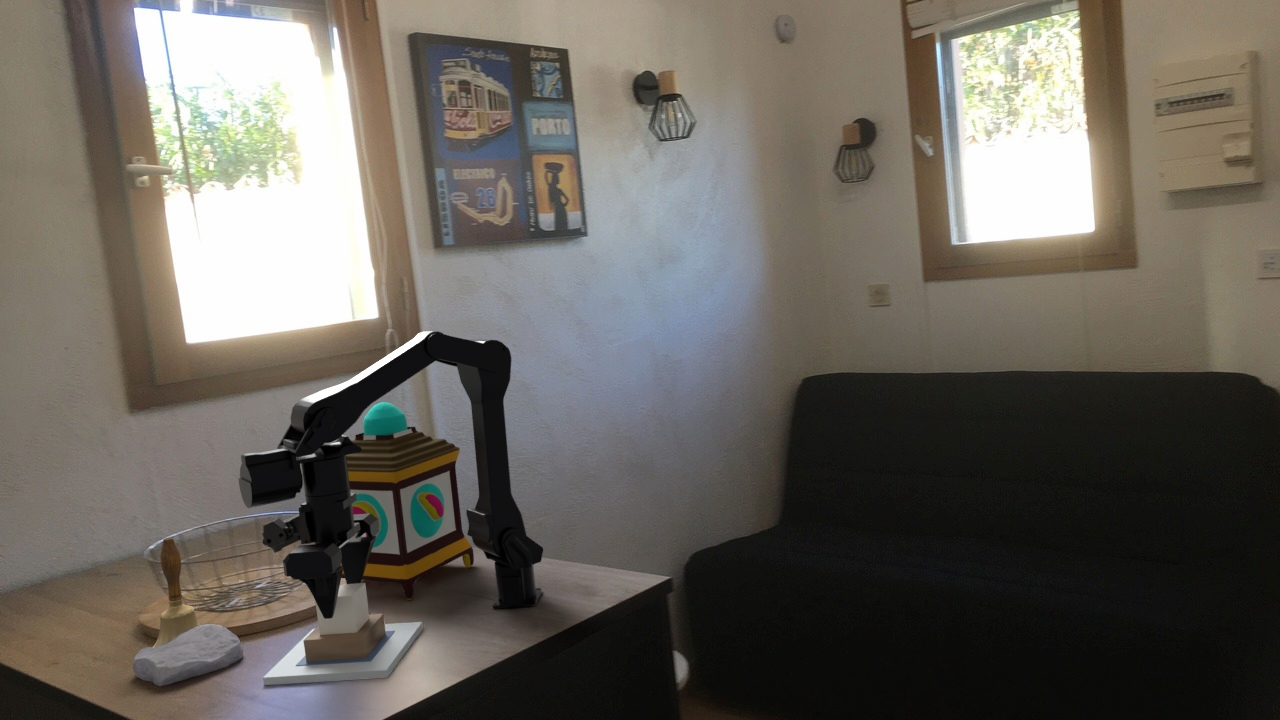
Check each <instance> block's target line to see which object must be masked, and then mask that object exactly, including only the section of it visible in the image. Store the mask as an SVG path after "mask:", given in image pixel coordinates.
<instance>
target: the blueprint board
mask: <svg viewBox="0 0 1280 720" xmlns="http://www.w3.org/2000/svg"><path fill="white" fill-rule="evenodd" d="M423 625H424V624H423V621H414V622H398V623H396V622H395V623H385V617H384V613H375V614H374V613H372V614H369V619H368V621H367V622H366V623H365V624H364V625H363V626H362V627H361V628H360V630H359V631H358V632H357V633H342V634H327V635H320V633H319V625H317V626H316V627H315V628H311V630H310V631H309V632H308V633H307V634H306V635H305V636H304V637H303V638H302V639H301V640H299V642H298V643H297V644H295V646H294V647H292V649H290V650H289V651H288V652H287V653H286V655H285V656H283V657H282V658H281V659H280V660H279V661H278V662H277V663H276V664H275V665H274V666H273V667H272V668H271V669H270V670H269V671H268V672H267V673H266V674H265V675H264V676H263V677H262V679H263V681H262V682H263V685H264V686H272V685H273V686H274V685H287V684H289V685H290V684H304V683H305V684H307V683H320V682H322V683H323V682H337V681H338V682H339V681H354V680H367V679H368V680H370V679H387V678H389V676H390V675H391V674H392V672H393V671H394V669H395V668H396V667H397V665H398V664H399V663H400V661H401V659H402V658H403V657H404V656H405V654H406V652H407V651H408V650H409V648H410V647H411V646H412V645H413V643H414V642H415V640H417V637H419V635H420V634H421V632H422V631H423V629H424V627H423Z"/></svg>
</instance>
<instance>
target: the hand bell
mask: <svg viewBox="0 0 1280 720" xmlns="http://www.w3.org/2000/svg"><path fill="white" fill-rule="evenodd" d="M160 551H161V552H160V557H159V559H160V566H161V571H162V572H163V575H164V578H165V580H166V583H167V590H168V604H169V605H168V606H169V607H167V608H166V609H165V610H164V611H162V612H161V613H160V616H159V618H160V619H159V623H160V624H159V627H160V628H159V633H158V637H157V640H156V641H155V644H154V645H153V646H151V648H154V647H158V646H160V645H165V644H168V643H169V642H171V641H172V640H174V639H175V638H176V637H177V636H179V635H180V634H183V633H185V632H187V631H189V630H191V629H193V628H195V627H197V626H201V624H200V622H199V619H198V617H197V614H196V611H195V608H194V607H193V606H192V605H188V604H185V603H184V602H183V599H182V598H183V595H182V590H181V589H182V588H181V585H180V579H181V578H180V576H181V572H182V559H181V558H182V557H181V553H180V550H179V548H178V546H177V544H176V542H175V540H174V538H173V537H165V538H163V540H162V546H161V550H160Z"/></svg>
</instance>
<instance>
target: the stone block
mask: <svg viewBox="0 0 1280 720" xmlns="http://www.w3.org/2000/svg"><path fill="white" fill-rule="evenodd" d="M200 625H201V624H200ZM243 657H244V648H243V646H242V643H241V641H240V639H239V637H238V636H237V635H236V634H235V633H233V632H232V631H230V630H229V629H228V628H227V627H223V626H222V625H220V624H213V623H212V624H209V623H205V624H202V625H201V626H197V627H195V628H193V629H191V630H189V631H187V632H185V633H183V634H180V635H179V636H177V637H176V638H175V639H174V640H172V641H171V642H169V643H168V644H165V645H160V646H158V647H154V648H152V646H151V647H150V646H149V647H147V646H146V647H143V648H142V649H140V650H139V651H138V652H137V653H136V655H134V658H133V663H132V670H133V673H134V674H135V677H136V678H138V679H140V680H142V681H147V682H152V683H154V685H156V686H157V687H164V686H169V685H173V684H174V683H177V682H182V681H185V680H188V679H190V678H193V677H197V676H203V675H205V674H208V673H211V672H214V671H218V670H221V669H225V668H227V667H229V666H230V665H233V664H234V663H236V662H238V661H239V660H241V659H242V658H243Z"/></svg>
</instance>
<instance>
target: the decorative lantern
mask: <svg viewBox="0 0 1280 720" xmlns="http://www.w3.org/2000/svg"><path fill="white" fill-rule="evenodd" d="M362 425H363V428H362V429H363V432H361V433H358V434H355V439H353V440H351V441H352V442H353V443H355V444H356V445H358V446H360V447H361V448H362V450H361V452H358V453H353V454H348V455H346V459H347V468H348V476H349V484H350V492H351V493H356V497H357V500H356V501H355V502H353V503H352V508H353V515H354V514H368V513H371V514H372V515H374V516H375V517H376V518H377V519H378V525H379V532H378V533H377V534H376V535H375V536H376V540H375V542H374V544H373V547H372V550H371V553H370V556H369V559H368V562H367V565H366V568H365V571H364V575H363V578H362V581H371V582H381V583H382V582H383V583H390V584H391V583H394V584H397V585H400V586H401V588H402V592H403V595H404V597H405V599H406V600H408V601H411V600H413V598H414V593H415V592H414V590H415V589H414V587H415V583H416V582H417V581H418V580H419V579H420V578H423V577H425V576H427V575H428V574H431V573H432V572H434V571H436V570H438V569H440V568H441V567H444V566H445V565H447V564H449V563H451V562H453V561H456V560H458V559H459V558H462V561H463V562H462V563H463V564H464V566H465V567H466V568H469V569H470V568H471V567H473V566H474V562H475V556H474V555H475V554H474V548H473V546H472V544H471V543H470V542H469V539H467V537H466V535H465V534H464V531H463V526H462V524H463V523H462V516H461V514H462V513H461V507H460V498H459V489H458V480H457V471H456V464H457V461H458V457H459V454H460V451H461V449H460V447H458V446H455V445H456V444H454V443H452V442H448V441H447V440H446V439H445V438H432V436H430V435H425V434H424V432H423V431H419V430H417V427H416V426H408V423H407V419H406V415H405V413H404V412H403V411H401V410H400V409H399V408H398V407H397V406H395V405H394V404H392V403H390V402H385V401H382V402H379V403H377V404H375V405H374V406H372V407H371V408H370V410H369V411H368V412H367V414H366V415H365V416H364V418H363V423H362ZM366 537H369V536H368V534H367V533H366ZM340 566H342V563H341V565H340ZM341 579H345V575H344V571H342V577H341Z"/></svg>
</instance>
